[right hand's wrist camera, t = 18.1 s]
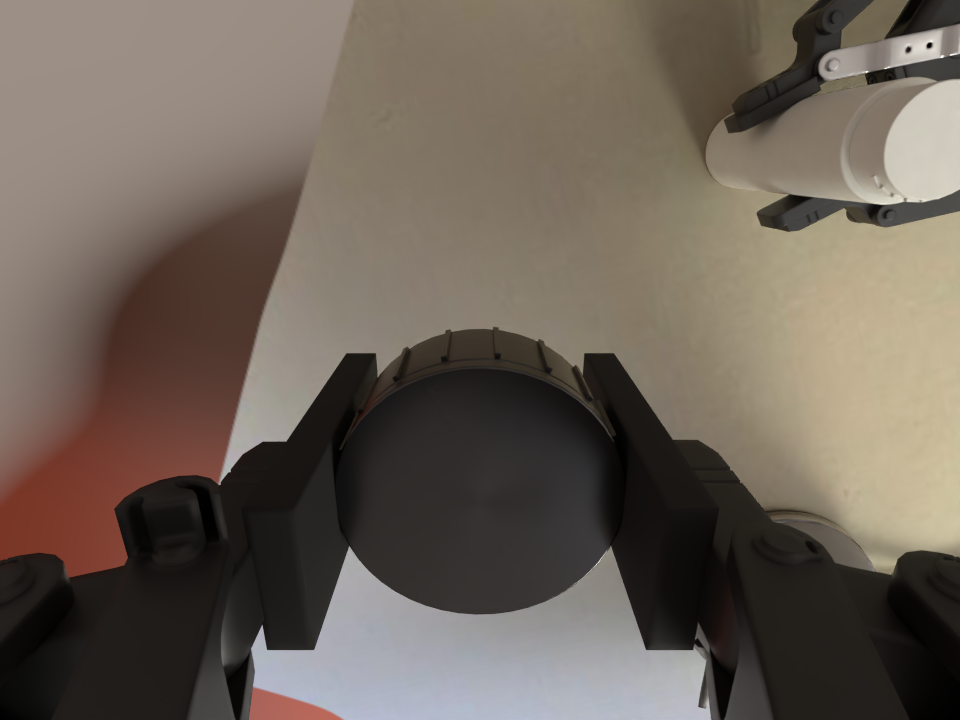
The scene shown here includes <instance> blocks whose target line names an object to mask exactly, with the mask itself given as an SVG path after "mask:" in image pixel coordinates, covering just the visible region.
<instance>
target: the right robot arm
mask: <svg viewBox="0 0 960 720" xmlns="http://www.w3.org/2000/svg"><path fill="white" fill-rule="evenodd" d="M374 376H376V377H377V378H378V376H377V362H376V353H346V355H345V356H344V358H343V359H342V361H341V362H340V364H339V365H338V367H337V368H336V370H335V371H334V372H333V374H332V375H331V377H330V378H329V380H328V381H327V383H326V384H325V386H324V387H323V389H322V390H321V392H320V393H319V395H318V396H317V397H316V399H315V400H314V402H313V403H312V405H311V406H310V408H309V409H308V411H307V412H306V414H305V415H304V417H303V418H302V419H301V421H300V422H299V424H298V425H297V427H296V428H295V430H294V431H293V433H292V434H291V436H290V437H289V439H288V440H287V441H286V442H262V443H260V444H259V445H257V446H255V447H254V448H252V449H251V450H249V451H248V452H246V453H244V454H243V455H242V456H241V457H240V459H239V460H238V461H237V462H236V464H235V465H234V466H233V467H232V469H231V472H228V474H227V475H226V476H225V477H224V479H223V480H222V481H221V485H218V484H217V483H216V482H214V481H213V480H212V479H211V478H207V477H202V476H197V475H192V476H177V477H173V478H168V479H163V480H159V481H157V482H154V483H151V484H149V485H146V486H144V487H141V488H139V489H138V490H136V491H135V492H133V493H131V494H130V495H128V496H127V497H125V498H124V499H123V500H122V501H121V502H120V503H119V504H118V505H117V507H116V508H115V509H114V510H115V513H116V517H117V520H118V524H119V527H120V531H121V534H122V538H123V541H124V545H125V548H126V552H127V555H128V559H127V561H126V563H125V565H124V566H120V567H117V568H113V569H108V570H103V571H99V572H94V573H89V574H84V575H79V576H75V577H70V578H69V577H68V574H67V571H66V568H65V565H64V562H63V561H62V560H61V559H60V558H58V557H57V556H56V555H52V554H44V553H35V554H27V555H20V556H15V557H11V558H8V559H7V560H5V559H4V560H1V561H0V720H249V713H250V705H251V698H252V689H253V681H254V673H255V670H254V663H253V657H252V652H251V647H252V645H253V643H254V641H255V639H256V637H257V635H258V632H259V630H260V628H261V626H262V624H263V630H264V635H265V641H266V646H267V650H314V649H315V646H316V643H317V640H318V637H319V634H320V631H321V628H322V625H323V622H324V619H325V616H326V613H327V610H328V607H329V604H330V601H331V598H332V595H333V592H334V589H335V586H336V583H337V580H338V577H339V574H340V571H341V569H342V566H343V563H344V560H345V557H346V554H347V551H348V548H349V544H348V542H347V540H346V538H345V536H344V534H343V532H342V530H341V526H340V523H339V520H338V514H337V505H336V496H335V486H334V479H335V472H336V466H337V462H338V459H339V456H340V454H339V448H340V446H341V444H342V442H343V440H344V438H345V436H346V434H347V432H348V429H349V427H350V425H351V423H352V421H353V419H354V417H355V415H356V413H357V412H356V411H357V409H358V407H359V405H360V403H361V401H362V399H363V397H364V395H365V393H366V391H367V389H368V387H369V385H370V383H371V381H372V379H373V377H374ZM583 378H584V380H585V382H586V384H587V385H588V387H589V389H590V390H591V392H592V394H593V396H594V398H595V400H596V401H598V400H600V402H601V404H602V406H603V408H604V410H605V412H606V414H607V416H608V418H609V420H610V422H611V425H612V427H613V429H614V431H615V433H616V435H617V437H618V439H617V440H614V441H615V443H616V445H617V448H618V450H619V452H620V455H621V458H622V462H623V466H624V470H625V478H626V490H625V499H624V508H623V516H622V522H621V524H620V527H619V529H618V532H617V535H616V537H615V539H614V541H613V542H612V544H611V547H612V550H613V553H614V556H615V559H616V562H617V565H618V568H619V570H620V573H621V576H622V579H623V582H624V585H625V588H626V591H627V594H628V597H629V600H630V603H631V606H632V609H633V612H634V615H635V618H636V621H637V624H638V627H639V630H640V633H641V636H642V639H643V642H644V645H645V648H646V650H693V648H694V647H695V648H696V650H697V651H698V652H699V653H700V654H701V656H702V657H703V658H704V659H705V660H706V661H707V662H706V667H705V672H704V677H703V682H702V687H701V692H700V698H699V706H698V707H701V708H705V709H706V706H707V701H708V696H709V704H710V712H711V720H960V558H959V557H954V556H952V555H948V554H944V553H937V552H930V551H922V550H921V551H914V552H906V553H905V554H904V555H902V556H901V557H900V558H899V559H898V560H897V563H896V566H895V569H894V572H893V575H888V574H883V573H878V572H876V571H875V569H874V566H873V565H872V563H871V561H870V560H869V558H868V557H867V556H866V554H865V553H864V551H863V550H862V549H861V547H860V546H859V545H858V544H857V543H856V542H855V541H854V540H853V539H852V538H851V537H850V536H849V535H848V534H847V533H846V532H845V531H844V530H843V529H841V528H840V527H839V526H838V525H836V524H834V523H832V522H831V521H829V520H827V519H824V518H822V517H819V516H816V515H812V514H808V513H802V512H793V511H778V512H769V513H766V512H765V511H764V509H763V508H762V507H761V506H760V504H759V503H758V502H757V501H756V499H755V498H754V497H753V496H752V495H751V493H750V492H749V491H748V490H747V488H746V487H745V486H744V485H743V483H740V480H739V478H738V477H737V476H736V475H735V473H734V472H733V471H730V467H729V466H728V465H727V463H726V462H725V461H724V460H723V458H722V457H721V456H720V455H719V454H718V452H716V451H714V450H713V449H711V448H710V447H708V446H706V445H705V444H703V443H702V442H700V441H698V440H673V439H672V438H671V437H670V435H669V434H668V432H667V431H666V429H665V428H664V426H663V425H662V423H661V422H660V420H659V419H658V417H657V416H656V415H655V413H654V412H653V410H652V409H651V407H650V406H649V404H648V403H647V401H646V400H645V398H644V397H643V395H642V394H641V393H640V391H639V390H638V388H637V387H636V385H635V384H634V382H633V381H632V379H631V378H630V376H629V375H628V373H627V372H626V371H625V369H624V368H623V366H622V365H621V363H620V362H619V360H618V359H617V357H616V356H615V354H614V353H584V367H583Z"/></svg>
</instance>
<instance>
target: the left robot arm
mask: <svg viewBox="0 0 960 720" xmlns="http://www.w3.org/2000/svg"><path fill="white" fill-rule="evenodd" d="M872 1H873V0H819V1H817V2H816V3H815V4H814V5H813V6H812V7H811V8H810V9H809V10H808V11H807V12H806V13H805V14H804V15H803V16H801V17H800V18H799V19H798V20H797V21H796V23H795V25H794V27H793V32H792V34H793V38H794V40H795V41H796V42H797V43H798V44H797V56H796V59H795V61H794V63H793V64H792V65H791V66H790V67H789V68H788V69H787V70H785V71H783V72H782V73H780V74H778V75H776V76H774V77H773V78H771V79H769V80H767V81H765V82H764V83H762V84H760V85H758V86H756V87H755V88H753V89H751V90H749V91H747V92H745V93H744V94H742V95H740V96H739V97H738V98H737V99H736V101H735V102H734V103H733V104H732V107H733V110H734V114H733V115H731V116H729V117H727V118H726V119H724V123H725V126H726V128H727V131H728V133H738V132H743V131H746V130H748V129H750V128H752V127H754V126H756V125H758V124H760V123H762V122H763V121H765V120H767V119H769V118H771V117H773V116H775V115H776V114H778V113H780V112H782V111H784V110H786V109H787V108H789V107H791V106H793V105H795V104H796V103H798V102H800V101H801V100H804V99H806V98H808V97H810V96H811V95H813V94H815V93H817V92H819V91H821V89H820V86H819V85H821V84H822V83H824V82H827V81H832V80H838V79H843V78H848V77H853V76H858V75H863V74H865V76H866V80H867V83H868V85H872V84H877V83H882V82H887V81H892V80H898V79H903V78H909V77H924V78H929V79H933V80H935V81H937V82H938V81H944V80H950V79H960V0H909V1H908V3H907V4H906V6H905V7H904V9H903V10H902V12H901V14H900V15H899V17H898V18H897V20H896V21H895V23H894V24H893V26H892V28H891V29H890V31H889V32H888V34H887V35H886V37H885V38H884V40H880V41H876V42H872V43H868V44H863V45H858V46H853V47H848V48H843V49H840V44H841V30H842V29H843V28H844V27H845V26H846V25H847V24H848V23H849V22H851V21H852V20H853V19H854V18H855V17H856V16H857V15H858V14H859V13H860V12H861V11H863V10H864V9H865V8H866V7H867V6H868V5H869V4H870V3H871V2H872ZM843 208H845V209H846V210H847V212H846V214H847V218H848V219H849V220H850V221H852V222H857V223H868V224H874V225H876V226H881V227H891V226H895V225H900V224H904V223H909V222H913V221H918V220H922V219H926V218H931V217H935V216H940V215H944V214H949V213H953V212H958V211H960V190H958V191H956V192H954V193H952V194H950V195H947V196H945V197H942V198H940V199H935V200H930V201H926V202H900V203H896V204H890V205H880V204H871V203H862V202H853V201H844V200H836V199H827V198H818V197H809V196H800V195H791V194H790V195H788V196H786V197H784V198H782V199H780V200H778V201H776V202H774V203H772V204H771V205H769V206H767V207H765V208H763V209H761V210H759V211H758V212H757V216H758V219H759V221H760V224H761V226H765V227H769V228H774V229H779V230H784V231H788V232H790V231H798V230H801V229H803V228H805V227H807V226H809V225H810V224H813V223H815V222H817V221H818V220H821V219H823V218H825V217H827V216H829V215H831V214H833V213H835V212H837V211H839V210H841V209H843Z"/></svg>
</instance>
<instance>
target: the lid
mask: <svg viewBox="0 0 960 720" xmlns="http://www.w3.org/2000/svg"><path fill="white" fill-rule="evenodd" d="M356 412H357V413H356V415H355V417H354V419H353V421H352V423H351V425H350V427H349V429H348V432H347V434H346V436H345V438H344V440H343V442H342V444H341V446H340V448H339V454H340V456H339V459H338V462H337V466H336V472H335V479H334V486H335V496H336V505H337V514H338V520H339V523H340V526H341V530H342V532H343V534H344V536H345V538H346V540H347V542H348V544H349V546H350V547H351V549H352V550H353V552H354V553H355V555H356V556H357V558H358V559H359V560H360V561H361V562H362V564H363V565H364V566H365V567H366V568H367V569H368V570H369V571H370V572H371V573H372V574H373V575H374V576H375V577H376V578H378V579H379V580H380V581H381V582H382V583H384V584H385V585H387V586H388V587H390V588H391V589H393V590H394V591H396V592H397V593H399V594H401V595H403V596H405V597H407V598H409V599H411V600H413V601H416V602H418V603H421V604H423V605H426V606H429V607H433V608H436V609H440V610H444V611H450V612H456V613H465V614H496V613H504V612H511V611H516V610H520V609H524V608H528V607H531V606H534V605H537V604H540V603H542V602H545V601H547V600H549V599H551V598H553V597H555V596H557V595H560V594H561V593H563V592H564V591H566V590H568V589H569V588H571V587H572V586H574V585H575V584H576V583H578V582H579V581H580V580H581V579H583V578H584V577H585V576H586V575H587V574H588V573H589V572H590V571H591V570H592V569H593V568H594V567H595V566H596V565H597V564H598V563H599V562H600V560H601V559H602V558H603V556H604V555H605V554H606V552H607V551H608V550H609V548H610V546H611V544H612V542H613V541H614V539H615V537H616V535H617V532H618V529H619V527H620V524H621V522H622V516H623V508H624V499H625V490H626V478H625V470H624V466H623V462H622V458H621V455H620V452H619V450H618V448H617V445H616V443H615V441H614V440H617V439H618V437H617V435H616V433H615V431H614V429H613V427H612V425H611V422H610V420H609V418H608V416H607V414H606V412H605V410H604V408H603V406H602V404H601V402H600V400H598V401H596V400H595V398H594V396H593V394H592V392H591V390H590V389H589V387H588V385H587V384H586V382H585V380H584V378H583V376H582V373H581V371H580V369H579V367H578V366H577V365H575V366H574V367H573V366H572V365H571V364H570V363H568V362H567V361H566V360H565V359H564V358H563V357H562V356H560V355H559V354H557V353H556V352H555V351H553V350H552V349H550V348H549V347H547V346H545V345H544V342H543V341H542V340H540V339H539V340H538V342H537V341H535V340H533V339H530V338H527V337H524V336H522V335H519V334H515V333H510V332H506V331H501V330H499V328H498V327H493V330H490V329H469V330H461V331H455V332H451V330H446V332H445V334H442V335H439V336H435V337H432V338H430V339H428V340H426V341H423V342H421V343H419V344H417V345H415V346H414V347H412V348H410V349H409V348H408V347H406V348H404V349H403V351H402V354H401V355H400V356H399V357H398V358H396V359H395V360H394V361H393V362H391V363H390V364H389V366H388V367H387V368H386V369H385V370H384V371H383V372H382V373H381V374H380V375H379V377H378V378H377V377H376V376H374V377H373V379H372V381H371V383H370V385H369V387H368V389H367V391H366V393H365V395H364V397H363V399H362V401H361V403H360V405H359V407H358V409H357V411H356Z"/></svg>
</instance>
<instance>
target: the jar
mask: <svg viewBox="0 0 960 720" xmlns="http://www.w3.org/2000/svg"><path fill="white" fill-rule="evenodd" d="M733 114H734V112H733V113H731V114H729V115H728V116H726V117H725V118H724V119H726V118H727V117H729V116H731V115H733ZM724 119H722V120H721V121H720V122H719V123H718V124H717V126H716V127H715V128H714V130H713V131H712V133H711V135H710V137H709V139H708V142H707V146H706V164H707V167H708V170H709V172H710V174H711V175H712V177H713V178H714V179H715V180H716V181H717V182H719V183H720V184H722V185H724V186H726V187H730V188H738V189H746V190H755V191H764V192H773V193H782V194H791V195H800V196H809V197H818V198H827V199H836V200H844V201H853V202H862V203H871V204H880V205H890V204H896V203H900V202H926V201H930V200H935V199H940V198H942V197H945V196H947V195H950V194H952V193H954V192H956V191H958V190H960V79H950V80H944V81H938V82H937V81H935V80H933V79H929V78H924V77H909V78H903V79H898V80H892V81H887V82H882V83H877V84H872V85H866V86H861V87H856V88H851V89H846V90H840V91H835V92H830V93H825V94H820V95H815V96H810V97H808V98H806V99H804V100H801V101H800V102H798V103H796V104H795V105H793V106H791V107H789V108H787V109H786V110H784V111H782V112H780V113H778V114H776V115H775V116H773V117H771V118H769V119H767V120H765V121H763V122H762V123H760V124H758V125H756V126H754V127H752V128H750V129H748V130H746V131H743V132H738V133H728V131H727V128H726V126H725V123H724Z"/></svg>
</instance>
